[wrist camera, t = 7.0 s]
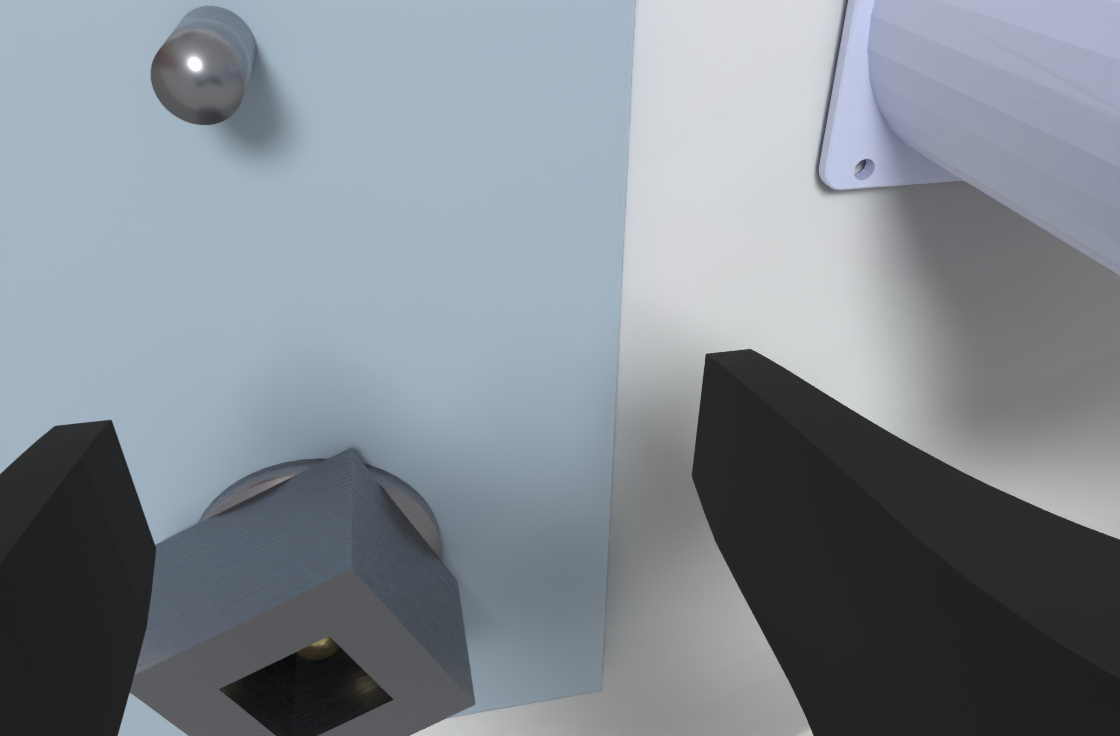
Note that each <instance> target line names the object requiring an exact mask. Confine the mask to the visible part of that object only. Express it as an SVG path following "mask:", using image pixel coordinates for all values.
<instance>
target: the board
mask: <svg viewBox="0 0 1120 736" xmlns="http://www.w3.org/2000/svg"><path fill="white" fill-rule="evenodd" d="M202 6H218V7H222V8H225V9H227V10H230V11H231V12H233V13H235V14H236V15H238V16H239V17H240V18H241V19H242V20H243V21H244V22H245V23H246V24H247V25H248V27H249V28H250V30H251V32H252V34H253V36H254V39H255V42H256V48H257V55H256V60H255V64H254V67H253V70H252V73H251V75H250V78H249V81H248V84H247V87H246V90H245V93H244V96H243V99H242V102H241V104H240V106H239V108H238V109H237V111H236V112H235V113H234V114H233V115H232V116H231V117H229V118H228V119H226V120H225V121H223V122H220V123H217V124H213V125H196V124H192V123H188V122H186V121H183V120H181V119H179V118H177V117H176V116H174V115H173V114H171V113H170V112H169V111H168V110H167V109H166V108H165V107H164V106H163V105H162V104H161V102H160V101H159V100H158V98H157V96H156V94H155V92H154V90H153V87H152V83H151V74H150V72H151V65H152V61H153V59H154V57H155V55H156V53H157V52H158V50H159V49H160V48H161V46H162V45H163V44H164V42H165V41H166V40H167V38H168V37H169V36H170V34H171V33H172V32H173V30H174V29H175V28H176V26H177V25H178V24H179V22H180V21H181V20H182V18H183V17H184V16H185V15H186V14H187V13H188V12H190V11H191V10H193V9H196V8H198V7H202ZM635 6H636V0H0V474H1V473H2V472H3V471H4V470H5V469H6V468H7V467H8V466H9V465H10V464H11V463H13V462H14V461H15V460H16V459H17V458H18V457H19V456H20V455H21V454H22V453H23V452H25V451H26V450H27V449H28V448H29V447H30V446H31V445H32V444H34V443H35V442H36V441H37V440H38V439H39V438H40V437H42V436H43V435H44V434H45V433H47V432H48V431H49V430H50V429H51V428H53V427H54V426H58V425H67V424H76V423H85V422H94V421H103V420H112V422H113V425H114V428H115V431H116V434H117V437H118V440H119V442H120V445H121V448H122V451H123V454H124V457H125V460H126V463H127V466H128V468H129V471H130V474H131V477H132V480H133V483H134V486H135V489H136V491H137V494H138V497H139V500H140V503H141V506H142V509H143V512H144V515H145V517H146V520H147V523H148V526H149V529H150V532H151V535H152V538H153V540H154V543H155V545H156V544H158V543H160V542H162V541H164V540H166V539H168V538H170V537H172V536H174V535H176V534H178V533H180V532H182V531H184V530H186V529H188V528H190V527H192V526H194V525H196V524H197V523H198V521H199V519H200V518H201V516H202V514H203V512H204V511H205V510H206V508H207V507H208V506H209V505H210V504H211V502H212V501H213V500H214V499H215V498H216V497H217V496H218V495H219V494H221V493H222V492H223V491H224V490H225V489H227V488H228V487H229V486H231V485H232V484H234V483H235V482H237V481H238V480H240V479H242V478H244V477H246V476H248V475H250V474H251V473H254V472H256V471H259V470H261V469H264V468H266V467H270V466H273V465H277V464H280V463H284V462H290V461H296V460H302V459H316V458H325V459H329V458H331V457H333V456H335V455H337V454H339V453H341V452H343V451H345V450H347V449H349V448H351V449H352V450H353V451H354V452H355V454H356V455H357V456H358V457H359V459H360V460H361V461H362V462H363V464H368V465H371V466H374V467H376V468H379V469H382V470H385V471H387V472H389V473H391V474H393V475H395V476H397V477H398V478H400V479H401V480H403V481H404V482H406V483H407V484H409V485H410V486H411V487H412V488H414V489H415V490H416V491H417V492H418V493H419V494H420V495H421V496H422V497H423V498H424V500H425V501H426V502H427V503H428V505H429V506H430V508H431V510H432V511H433V513H434V515H435V518H436V521H437V523H438V527H439V532H440V538H441V545H442V562H443V563H444V564H445V566H446V567H447V568H448V569H449V570H450V572H451V573H452V574H453V575H454V577H455V578H456V579H457V580H458V587H459V594H460V601H461V607H462V614H463V621H464V628H465V635H466V642H467V649H468V655H469V662H470V669H471V676H472V683H473V690H474V697H475V703H476V705H474V706H472V707H469V708H467V709H465V710H463V711H461V712H459V713H457V714H455V715H452V716H450V717H448V718H451V717H457V716H463V715H468V714H474V713H479V712H485V711H491V710H496V709H502V708H508V707H513V706H519V705H524V704H530V703H536V702H541V701H547V700H553V699H558V698H564V697H569V696H575V695H581V694H586V693H592V692H598V691H602V671H603V651H604V630H605V610H606V590H607V570H608V550H609V530H610V509H611V489H612V469H613V449H614V429H615V409H616V389H617V368H618V348H619V328H620V308H621V288H622V268H623V247H624V227H625V207H626V187H627V167H628V147H629V127H630V106H631V86H632V66H633V46H634V26H635ZM118 736H188V735H187V734H185V733H184V732H183V731H181V730H180V729H178V728H177V727H176V726H174V725H173V724H172V723H170V722H169V721H168V720H166V719H165V718H164V717H162V716H161V715H160V714H158V713H157V712H155V711H154V710H153V709H151V708H150V707H149V706H147V705H146V704H145V703H143V702H142V701H141V700H139V699H138V698H137V697H135V696H134V695H133V694H131V693H129V697H128V700H127V704H126V708H125V711H124V715H123V719H122V722H121V726H120V730H119V733H118Z"/></svg>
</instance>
